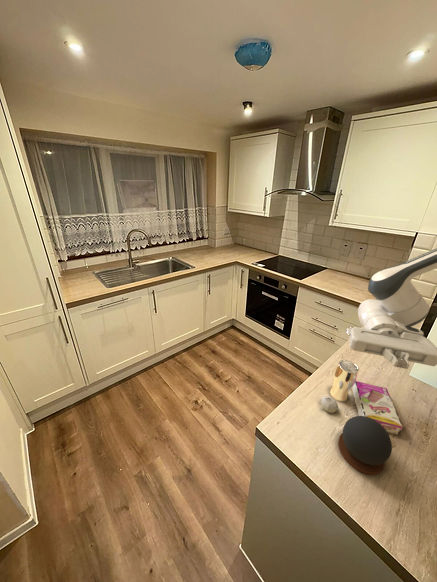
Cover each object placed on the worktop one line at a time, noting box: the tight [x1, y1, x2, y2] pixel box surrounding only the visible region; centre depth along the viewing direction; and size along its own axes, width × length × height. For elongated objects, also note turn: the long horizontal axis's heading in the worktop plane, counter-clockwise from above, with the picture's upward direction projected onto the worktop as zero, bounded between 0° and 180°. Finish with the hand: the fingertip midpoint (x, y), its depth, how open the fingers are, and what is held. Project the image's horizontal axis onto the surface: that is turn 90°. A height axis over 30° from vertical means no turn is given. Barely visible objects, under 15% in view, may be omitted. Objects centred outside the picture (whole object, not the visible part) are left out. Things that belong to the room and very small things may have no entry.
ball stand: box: [337, 415, 393, 476], centre depth 68 cm, size 12×12×13 cm
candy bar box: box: [351, 380, 403, 436], centre depth 83 cm, size 11×5×16 cm
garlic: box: [320, 395, 339, 414], centre depth 83 cm, size 6×5×5 cm
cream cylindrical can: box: [329, 359, 360, 402], centre depth 86 cm, size 7×7×15 cm
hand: (401, 365), depth 56 cm, fingers closed
